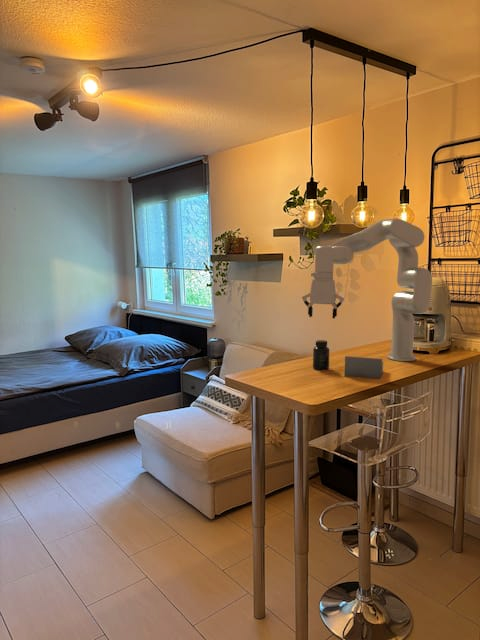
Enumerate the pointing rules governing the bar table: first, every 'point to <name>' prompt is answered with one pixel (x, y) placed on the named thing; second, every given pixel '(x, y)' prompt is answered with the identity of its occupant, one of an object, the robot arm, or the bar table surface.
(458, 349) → the bar table surface
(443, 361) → the bar table surface
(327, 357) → the supplement bottle
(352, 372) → the shelf block
